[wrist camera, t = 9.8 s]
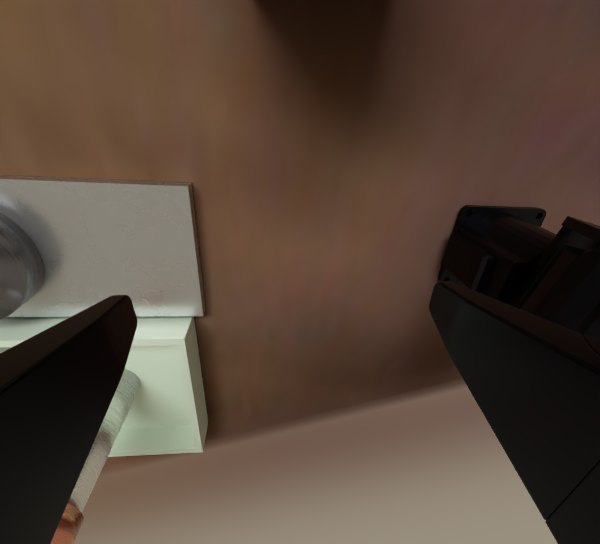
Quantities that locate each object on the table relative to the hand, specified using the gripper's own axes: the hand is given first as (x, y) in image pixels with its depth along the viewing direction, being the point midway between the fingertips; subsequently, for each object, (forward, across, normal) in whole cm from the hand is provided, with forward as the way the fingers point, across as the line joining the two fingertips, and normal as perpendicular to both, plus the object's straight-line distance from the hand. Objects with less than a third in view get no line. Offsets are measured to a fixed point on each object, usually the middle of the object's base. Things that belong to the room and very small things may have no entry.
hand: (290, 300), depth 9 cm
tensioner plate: (+13, +15, +4) cm, 20 cm away
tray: (+13, +14, +17) cm, 26 cm away
